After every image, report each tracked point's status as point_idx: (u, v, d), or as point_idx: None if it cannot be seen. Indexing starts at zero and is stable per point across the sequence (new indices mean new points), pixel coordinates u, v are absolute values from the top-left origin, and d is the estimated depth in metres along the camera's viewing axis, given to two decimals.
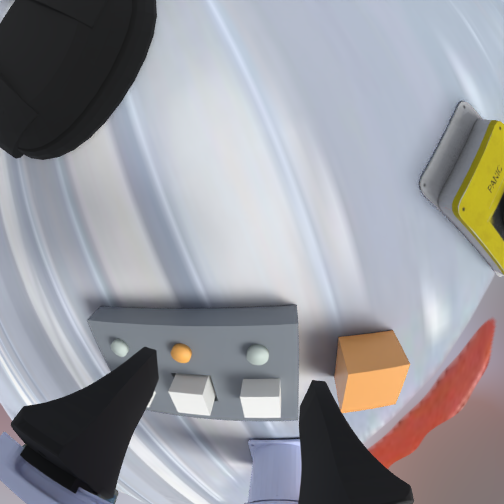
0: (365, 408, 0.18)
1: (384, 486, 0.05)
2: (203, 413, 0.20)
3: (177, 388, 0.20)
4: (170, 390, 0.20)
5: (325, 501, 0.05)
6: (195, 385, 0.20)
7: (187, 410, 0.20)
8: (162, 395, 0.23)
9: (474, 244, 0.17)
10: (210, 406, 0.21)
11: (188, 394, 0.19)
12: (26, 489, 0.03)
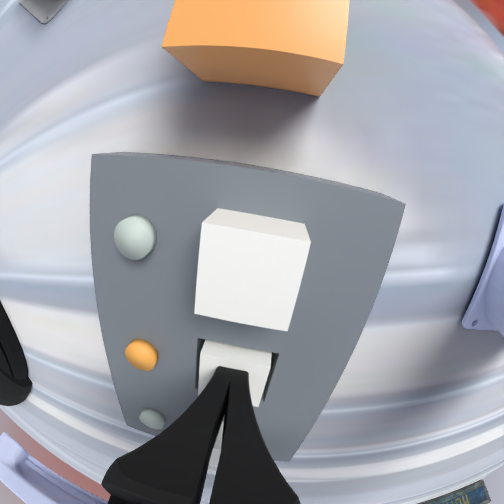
0: (343, 4, 0.05)
1: (263, 490, 0.05)
2: (262, 375, 0.11)
3: None
4: None
5: None
6: None
7: (252, 393, 0.11)
8: None
9: None
10: (259, 354, 0.11)
11: (200, 371, 0.11)
12: (26, 489, 0.03)
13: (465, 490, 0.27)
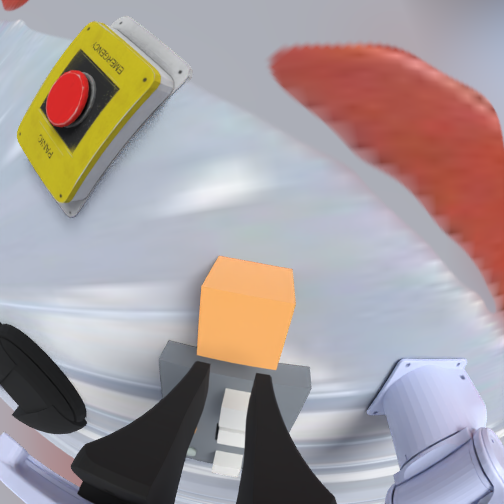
0: (281, 344, 0.15)
1: (301, 492, 0.05)
2: None
3: None
4: (217, 441, 0.22)
5: (245, 498, 0.05)
6: None
7: (243, 443, 0.22)
8: None
9: (120, 146, 0.16)
10: None
11: (218, 435, 0.22)
12: (26, 489, 0.03)
13: None
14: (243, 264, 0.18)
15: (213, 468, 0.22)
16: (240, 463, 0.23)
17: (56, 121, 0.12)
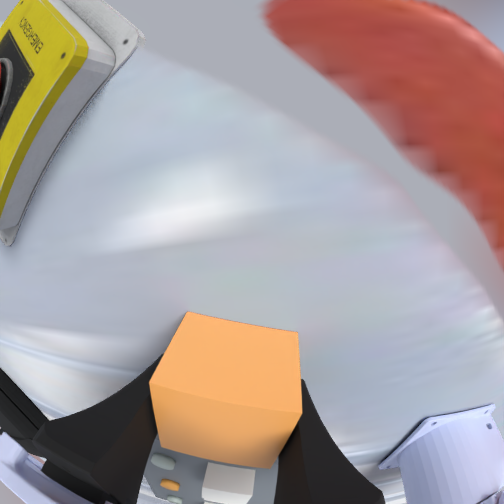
0: (277, 449, 0.08)
1: (353, 490, 0.05)
2: None
3: None
4: (204, 498, 0.16)
5: (293, 501, 0.05)
6: None
7: None
8: None
9: (46, 156, 0.09)
10: None
11: None
12: (26, 489, 0.03)
13: None
14: (222, 328, 0.11)
15: None
16: None
17: None
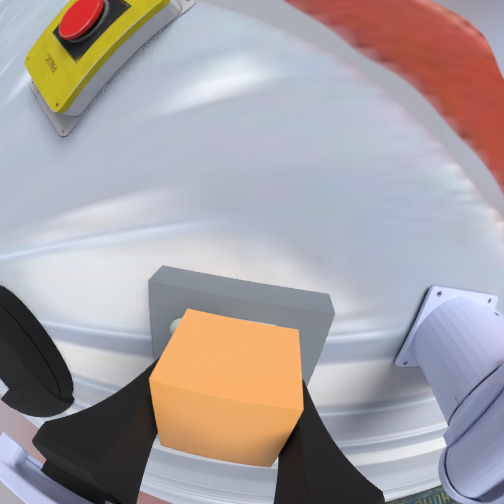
0: (278, 447, 0.08)
1: (353, 490, 0.05)
2: None
3: None
4: None
5: (294, 501, 0.05)
6: None
7: None
8: None
9: (123, 61, 0.14)
10: None
11: None
12: (26, 489, 0.03)
13: None
14: (222, 325, 0.11)
15: None
16: None
17: (67, 34, 0.10)
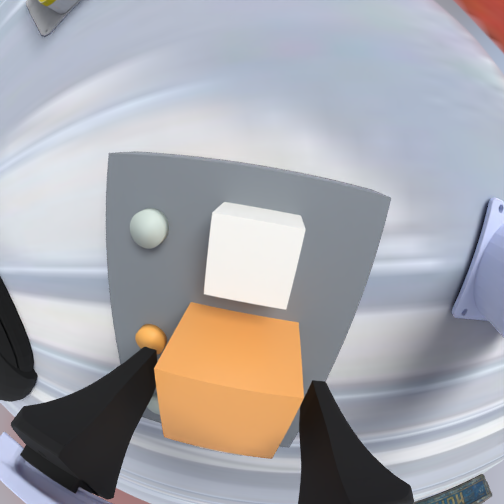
0: (279, 437, 0.09)
1: (384, 486, 0.05)
2: None
3: None
4: None
5: (325, 501, 0.05)
6: None
7: None
8: None
9: None
10: None
11: None
12: (26, 489, 0.03)
13: (460, 487, 0.29)
14: (225, 317, 0.12)
15: None
16: None
17: None
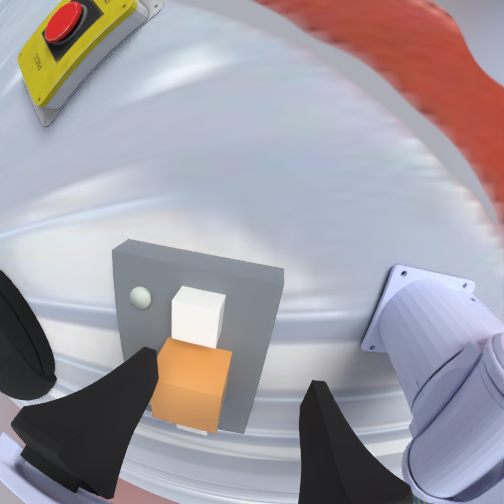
0: (215, 418, 0.16)
1: (384, 486, 0.05)
2: None
3: None
4: None
5: (325, 501, 0.05)
6: None
7: None
8: None
9: (96, 62, 0.14)
10: None
11: None
12: (26, 489, 0.03)
13: None
14: (187, 348, 0.19)
15: None
16: None
17: (50, 37, 0.11)
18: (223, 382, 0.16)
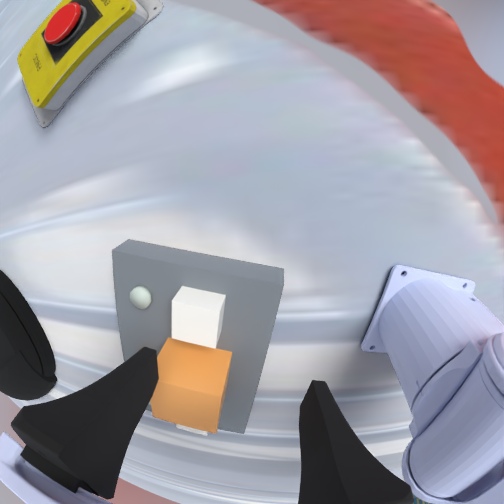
0: (215, 418, 0.16)
1: (384, 486, 0.05)
2: None
3: None
4: None
5: (325, 501, 0.05)
6: None
7: None
8: None
9: (95, 64, 0.15)
10: None
11: None
12: (26, 489, 0.03)
13: None
14: (187, 347, 0.19)
15: None
16: None
17: (49, 39, 0.11)
18: (223, 382, 0.16)
